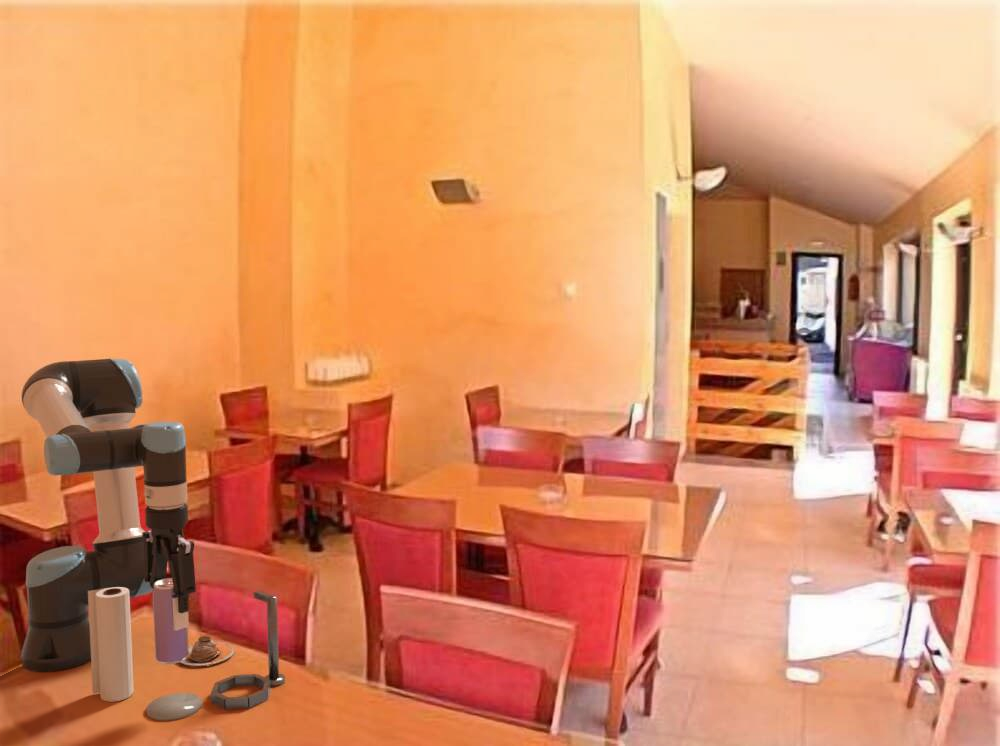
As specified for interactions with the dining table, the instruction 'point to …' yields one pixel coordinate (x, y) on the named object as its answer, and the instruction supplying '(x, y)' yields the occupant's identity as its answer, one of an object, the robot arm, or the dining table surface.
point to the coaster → (173, 706)
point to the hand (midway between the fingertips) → (171, 623)
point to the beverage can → (167, 626)
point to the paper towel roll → (111, 643)
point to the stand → (254, 679)
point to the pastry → (204, 652)
